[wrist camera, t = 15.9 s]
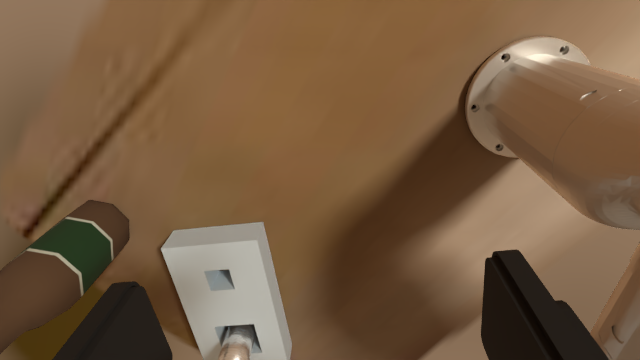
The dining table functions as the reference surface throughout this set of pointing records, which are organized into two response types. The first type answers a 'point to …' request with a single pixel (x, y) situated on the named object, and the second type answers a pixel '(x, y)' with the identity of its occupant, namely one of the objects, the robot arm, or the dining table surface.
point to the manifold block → (228, 287)
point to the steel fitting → (238, 342)
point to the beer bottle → (59, 268)
